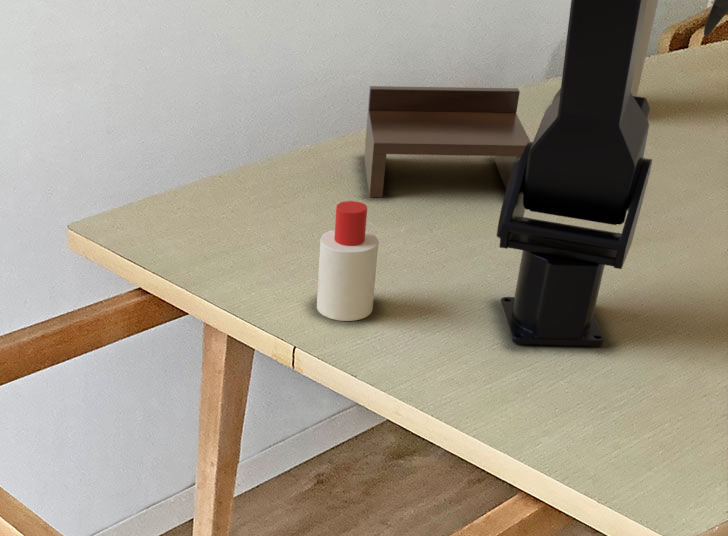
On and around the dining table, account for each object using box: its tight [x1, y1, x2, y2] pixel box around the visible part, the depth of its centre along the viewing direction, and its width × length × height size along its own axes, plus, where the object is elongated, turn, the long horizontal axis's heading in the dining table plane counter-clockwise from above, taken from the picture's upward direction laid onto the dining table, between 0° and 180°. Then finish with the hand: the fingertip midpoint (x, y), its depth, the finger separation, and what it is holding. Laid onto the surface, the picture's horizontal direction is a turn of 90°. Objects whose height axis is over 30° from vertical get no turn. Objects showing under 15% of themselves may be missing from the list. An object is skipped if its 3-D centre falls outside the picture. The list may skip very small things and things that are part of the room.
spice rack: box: [363, 85, 531, 198], centre depth 100 cm, size 10×14×7 cm
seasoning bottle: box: [316, 200, 379, 322], centre depth 79 cm, size 4×4×8 cm
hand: (652, 21), depth 92 cm, fingers open, 9 cm apart
